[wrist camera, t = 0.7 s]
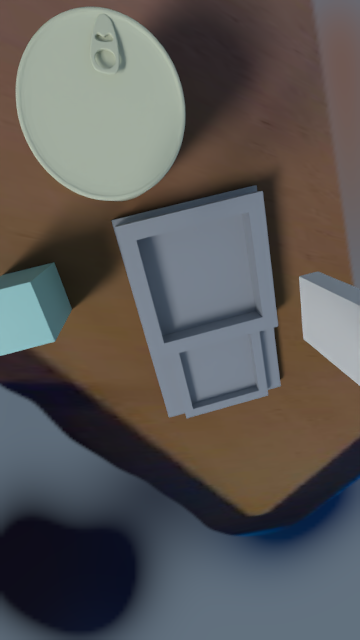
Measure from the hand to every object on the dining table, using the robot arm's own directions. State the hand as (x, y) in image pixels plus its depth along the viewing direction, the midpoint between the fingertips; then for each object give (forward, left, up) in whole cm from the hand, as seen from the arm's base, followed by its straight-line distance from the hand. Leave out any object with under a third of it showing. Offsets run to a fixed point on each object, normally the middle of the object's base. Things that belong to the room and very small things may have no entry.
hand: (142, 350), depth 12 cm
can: (-10, +1, -21) cm, 24 cm away
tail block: (+1, -10, -21) cm, 23 cm away
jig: (+8, +6, -21) cm, 23 cm away
